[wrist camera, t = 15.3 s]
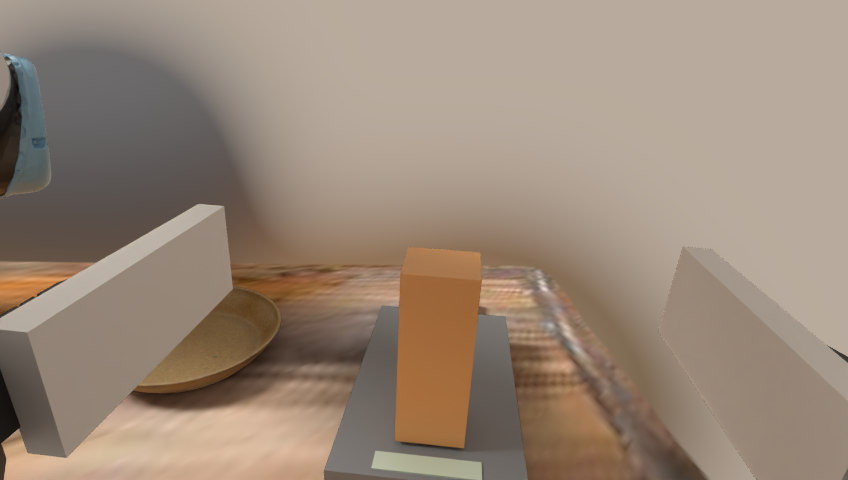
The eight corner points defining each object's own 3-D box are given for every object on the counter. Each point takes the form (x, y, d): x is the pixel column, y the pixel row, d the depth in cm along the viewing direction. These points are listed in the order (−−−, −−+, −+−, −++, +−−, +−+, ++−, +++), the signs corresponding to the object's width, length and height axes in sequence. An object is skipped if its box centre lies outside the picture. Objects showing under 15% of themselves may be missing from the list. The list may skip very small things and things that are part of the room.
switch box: (522, 533, 26) (530, 492, 25) (325, 510, 26) (324, 468, 25) (497, 308, 49) (500, 281, 47) (392, 299, 49) (393, 272, 48)
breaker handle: (464, 448, 27) (481, 280, 23) (394, 440, 27) (400, 273, 23) (464, 405, 30) (480, 252, 26) (402, 399, 30) (408, 246, 26)
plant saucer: (305, 315, 46) (304, 292, 45) (235, 425, 32) (231, 394, 31) (162, 302, 47) (158, 278, 46) (35, 402, 33) (25, 372, 32)
